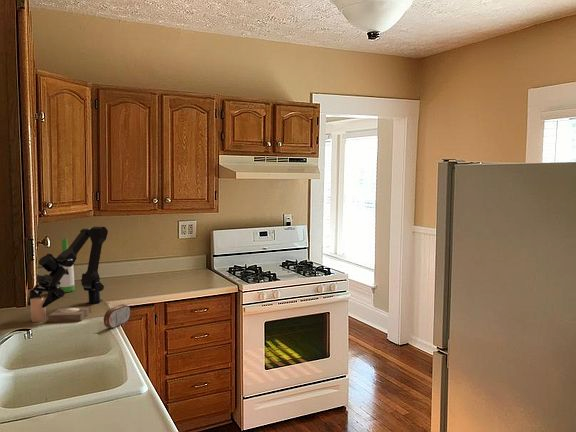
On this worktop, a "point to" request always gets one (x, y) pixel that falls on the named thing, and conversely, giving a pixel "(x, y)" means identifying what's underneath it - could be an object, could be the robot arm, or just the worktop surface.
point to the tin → (117, 316)
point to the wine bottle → (67, 280)
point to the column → (38, 309)
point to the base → (69, 314)
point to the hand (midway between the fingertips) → (35, 306)
